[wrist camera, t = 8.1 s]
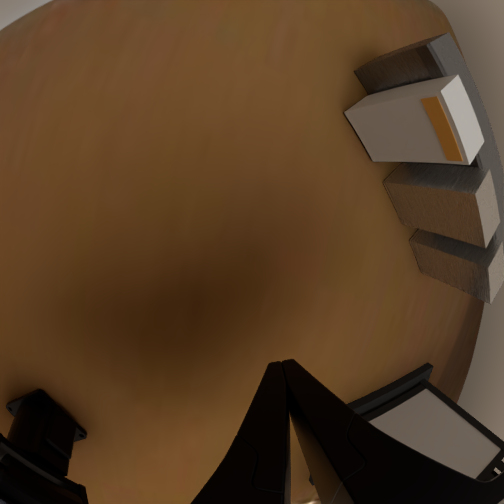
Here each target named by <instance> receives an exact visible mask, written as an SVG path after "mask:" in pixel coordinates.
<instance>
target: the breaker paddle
mask: <svg viewBox="0 0 504 504" xmlns="http://www.w3.org/2000/svg"><path fill="white" fill-rule="evenodd" d="M344 113H345V115H346V117H347V118H348V120H349V121H350V123H351V124H352V126H353V128H354V129H355V131H356V133H357V134H358V136H359V138H360V139H361V141H362V143H363V145H364V146H365V148H366V150H367V152H368V153H369V155H370V157H371V159H372V161H373V162H427V163H447V164H461V165H470V164H471V162H472V161H473V159H474V158H475V156H476V154H477V153H478V151H479V150H480V148H481V146H482V145H483V143H484V139H483V135H482V132H481V129H480V126H479V124H478V121H477V118H476V115H475V113H474V110H473V107H472V105H471V102H470V100H469V97H468V95H467V93H466V90H465V88H464V86H463V84H462V82H461V79H460V77H459V75H453V76H447V77H442V78H437V79H432V80H427V81H422V82H418V83H414V84H409V85H405V86H401V87H397V88H393V89H390V90H386V91H382V92H379V93H375V94H372V95H368V96H366V97H364V98H363V99H362V100H360V101H359V102H357V103H356V104H355V105H353V106H352V107H351V108H349V109H348V110H347V111H345V112H344Z"/></svg>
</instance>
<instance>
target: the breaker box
mask: <svg viewBox="0 0 504 504" xmlns="http://www.w3.org/2000/svg"><path fill="white" fill-rule="evenodd" d="M354 72H355V74H356V75H357V77H358V78H359V80H360V81H361V83H362V84H363V86H364V88H365V89H366V91H367V92H368V94H369V95H372V94H375V93H379V92H382V91H386V90H390V89H393V88H397V87H401V86H405V85H409V84H414V83H418V82H422V81H427V80H432V79H437V78H442V77H447V76H453V75H459V77H460V79H461V82H462V84H463V86H464V88H465V90H466V93H467V95H468V97H469V100H470V102H471V105H472V107H473V110H474V113H475V115H476V118H477V121H478V124H479V126H480V129H481V132H482V135H483V139H484V143H483V145H482V146H481V148H480V150H479V151H478V153H477V154H476V156H475V158H474V159H473V161H472V162H471V164H470V165H461V164H447V163H427V162H406V163H401V164H400V165H399V166H398V167H397V168H396V169H395V170H394V171H393V172H392V173H391V174H390V175H389V176H388V177H387V178H386V179H385V180H384V181H383V184H384V186H385V188H386V190H387V192H388V195H389V197H390V199H391V201H392V203H393V205H394V207H395V209H396V212H397V214H398V216H399V218H400V220H401V223H402V224H404V225H408V226H411V227H415V228H419V229H418V230H417V232H416V233H415V234H414V235H413V236H412V238H411V239H410V240H409V242H410V244H411V247H412V249H413V252H414V254H415V257H416V260H417V262H418V265H419V268H420V271H421V273H423V274H425V275H427V276H430V277H432V278H434V279H436V280H439V281H441V282H443V283H446V284H448V285H450V286H452V287H454V288H457V289H459V290H461V291H463V292H465V293H468V294H470V295H472V296H474V297H476V298H478V299H480V300H482V301H485V302H487V303H489V304H491V303H492V301H493V299H494V297H495V296H496V294H497V292H498V291H499V289H500V287H501V285H502V283H503V281H504V175H503V169H502V165H501V161H500V157H499V153H498V149H497V145H496V142H495V138H494V135H493V131H492V128H491V125H490V122H489V119H488V116H487V113H486V110H485V108H484V105H483V102H482V100H481V97H480V95H479V92H478V90H477V87H476V85H475V83H474V81H473V78H472V76H471V74H470V72H469V70H468V67H467V65H466V63H465V61H464V59H463V57H462V55H461V53H460V52H459V50H458V48H457V46H456V44H455V42H454V41H453V39H452V37H451V35H450V34H449V33H445V34H442V35H438V36H435V37H432V38H429V39H425V40H422V41H419V42H417V43H414V44H411V45H408V46H405V47H402V48H400V49H397V50H394V51H392V52H389V53H387V54H384V55H382V56H379V57H377V58H376V59H374V60H372V61H370V62H369V63H367V64H365V65H363V66H362V67H360V68H358V69H357V70H355V71H354Z"/></svg>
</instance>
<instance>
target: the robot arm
mask: <svg viewBox="0 0 504 504" xmlns="http://www.w3.org/2000/svg"><path fill="white" fill-rule="evenodd" d="M6 408H7V410H8V411H9V412H10V413H11V414H12V415H13V416H14V417H15V418H14V420H13V423H12V425H11V428H10V431H9V433H8V436H7V439H6V438H5V437H3V435H2V434H1V433H0V504H89V503H88V498H87V493H86V488H85V486H83V485H81V484H77V483H75V482H73V481H71V480H69V479H67V478H66V477H64V476H67V474H68V467H69V460H70V459H71V456H72V450H73V444H74V442H75V441H79V440H82V439H85V438H86V437H87V433H86V432H85V431H84V430H83V429H82V428H81V427H80V426H78V425H77V424H76V423H75V422H74V421H73V420H72V419H71V418H70V417H69V416H67V415H66V414H65V413H64V412H63V411H62V410H61V409H60V408H59V407H58V406H57V405H56V404H55V403H54V402H53V401H52V400H51V399H50V398H49V397H48V396H47V395H46V393H45V392H43V391H42V390H36V391H34V392H31V393H29V394H27V395H25V396H22V397H20V398H18V399H15V400H13V401H11V402H8V403H7V405H6ZM289 413H290V416H289ZM355 413H356V412H355V411H354V410H353V409H351V408H350V407H349V406H348V405H347V404H345V403H344V402H343V401H342V400H341V399H339V398H338V397H337V396H336V395H335V394H333V393H332V392H331V391H330V390H329V389H327V388H326V387H325V386H324V385H323V384H322V383H320V382H319V381H318V380H317V379H316V378H315V377H313V376H312V375H311V374H310V373H309V372H308V371H307V370H305V369H304V368H303V367H302V366H301V365H300V364H299V363H297V362H296V361H295V360H294V359H289V360H283V361H282V363H281V362H280V361H277V362H271V363H269V364H268V366H267V368H266V371H265V373H264V375H263V378H262V380H261V382H260V385H259V387H258V389H257V391H256V394H255V396H254V398H253V400H252V403H251V405H250V407H249V409H248V411H247V414H246V416H245V418H244V420H243V422H242V424H241V426H240V429H239V431H238V433H237V435H236V436H235V438H234V440H233V442H232V445H231V446H230V448H229V450H228V452H227V454H226V456H225V457H224V459H223V460H222V462H221V463H220V465H219V466H218V468H217V469H216V471H215V472H214V473H213V475H212V476H211V478H210V479H209V480H208V482H207V483H206V484H205V486H204V487H203V488H202V489H201V491H200V492H199V493H198V495H197V496H196V497H195V498H194V500H193V501H192V502H191V504H290V496H291V467H290V417H291V420H292V423H293V426H294V429H295V432H296V435H297V437H298V440H299V443H300V446H301V449H302V452H303V454H304V457H305V460H306V463H307V465H308V468H309V471H310V474H311V476H312V479H313V482H314V485H315V487H316V490H317V493H318V496H319V498H320V501H321V504H504V471H503V472H502V473H500V474H499V475H498V476H496V477H495V478H493V479H492V480H491V481H488V482H482V481H479V480H476V479H474V478H472V477H469V476H467V475H465V474H463V473H461V472H458V471H456V470H454V469H452V468H450V467H448V466H446V465H444V464H442V463H440V462H438V461H436V460H434V459H432V458H430V457H428V456H426V455H424V454H422V453H420V452H418V451H416V450H414V449H412V448H411V447H409V446H407V445H405V444H403V443H401V442H400V441H398V440H396V439H394V438H393V437H391V436H389V435H387V434H386V433H384V432H383V431H381V430H379V429H378V428H376V427H375V426H374V425H372V424H371V423H369V422H368V421H367V420H365V419H364V418H363V417H362V416H360V415H359V414H358V413H356V414H355Z"/></svg>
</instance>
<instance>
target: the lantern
mask: <svg viewBox="0 0 504 504" xmlns="http://www.w3.org/2000/svg"><path fill="white" fill-rule="evenodd" d="M432 369H433V366H432V365H431V364H429V363H426V364H424V365H423V366H421V367H419V368H418V369H416V370H414V371H413V372H411V373H409V374H407V375H405V376H404V377H402V378H400V379H398V380H396V381H394V382H392V383H391V384H389V385H387V386H385V387H383V388H381V389H379V390H377V391H375V392H372V393H370V394H368V395H366V396H364V397H362V398H360V399H357V400H355V401H353V402H351V403H348V404H347V405H348V406H349V407H350V408H351V409H353V410H354V411H355V412H356V413H358V414H359V415H360V416H362V417H363V418H364V419H365V420H367V421H368V422H369V423H371V424H372V425H374V426H375V427H376V428H378V429H379V430H381V431H383V432H384V433H386V434H387V435H389V436H391V437H393V438H394V439H396V440H398V441H400V442H401V443H403V444H405V445H407V446H409V447H411V448H412V449H414V450H416V451H418V452H420V453H422V454H424V455H426V456H428V457H430V458H432V459H434V460H436V461H438V462H440V463H442V464H444V465H446V466H448V467H450V468H452V469H454V470H456V471H458V472H461V473H463V474H465V475H467V476H469V477H472V478H474V479H476V480H479V481H482V482H488V481H491V480H492V479H493V478H495V477H496V476H498V475H499V474H497V473H496V472H495V471H494V469H495V467H496V468H497V469H498V470H500V471H501V472H503V471H504V463H503V461H501V460H502V459H503V457H504V441H502V440H501V439H500V438H499V437H497V436H496V435H495V434H494V433H492V432H491V431H490V430H488V429H487V428H486V427H485V426H484V425H482V424H481V423H480V422H479V421H477V420H476V419H475V418H474V417H472V416H471V415H470V414H469V413H467V412H466V411H465V410H464V409H462V408H461V407H460V406H458V405H457V404H456V403H455V402H453V401H452V400H451V399H450V398H448V397H447V396H446V395H445V394H443V393H442V392H441V391H440V390H438V389H437V388H436V387H434V386H433V385H432V384H431V383H429V382H428V380H429V377H430V374H431V372H432ZM356 413H355V414H356ZM309 481H310V483H311V484H312V485H314V482H313V479H312V476H311V474H310V478H309Z"/></svg>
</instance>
